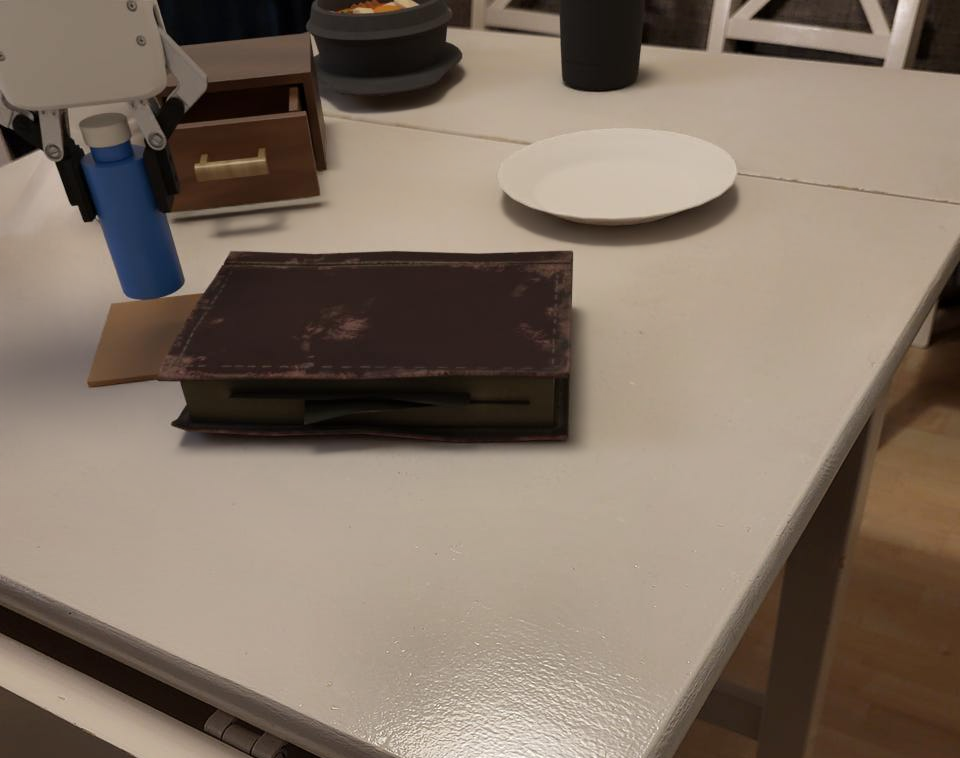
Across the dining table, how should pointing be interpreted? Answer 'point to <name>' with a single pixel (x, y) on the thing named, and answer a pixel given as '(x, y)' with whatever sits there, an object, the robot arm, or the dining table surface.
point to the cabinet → (262, 74)
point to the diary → (380, 346)
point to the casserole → (381, 45)
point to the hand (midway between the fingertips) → (129, 207)
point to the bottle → (129, 209)
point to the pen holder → (600, 42)
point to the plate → (617, 175)
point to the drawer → (244, 149)
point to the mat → (138, 338)
